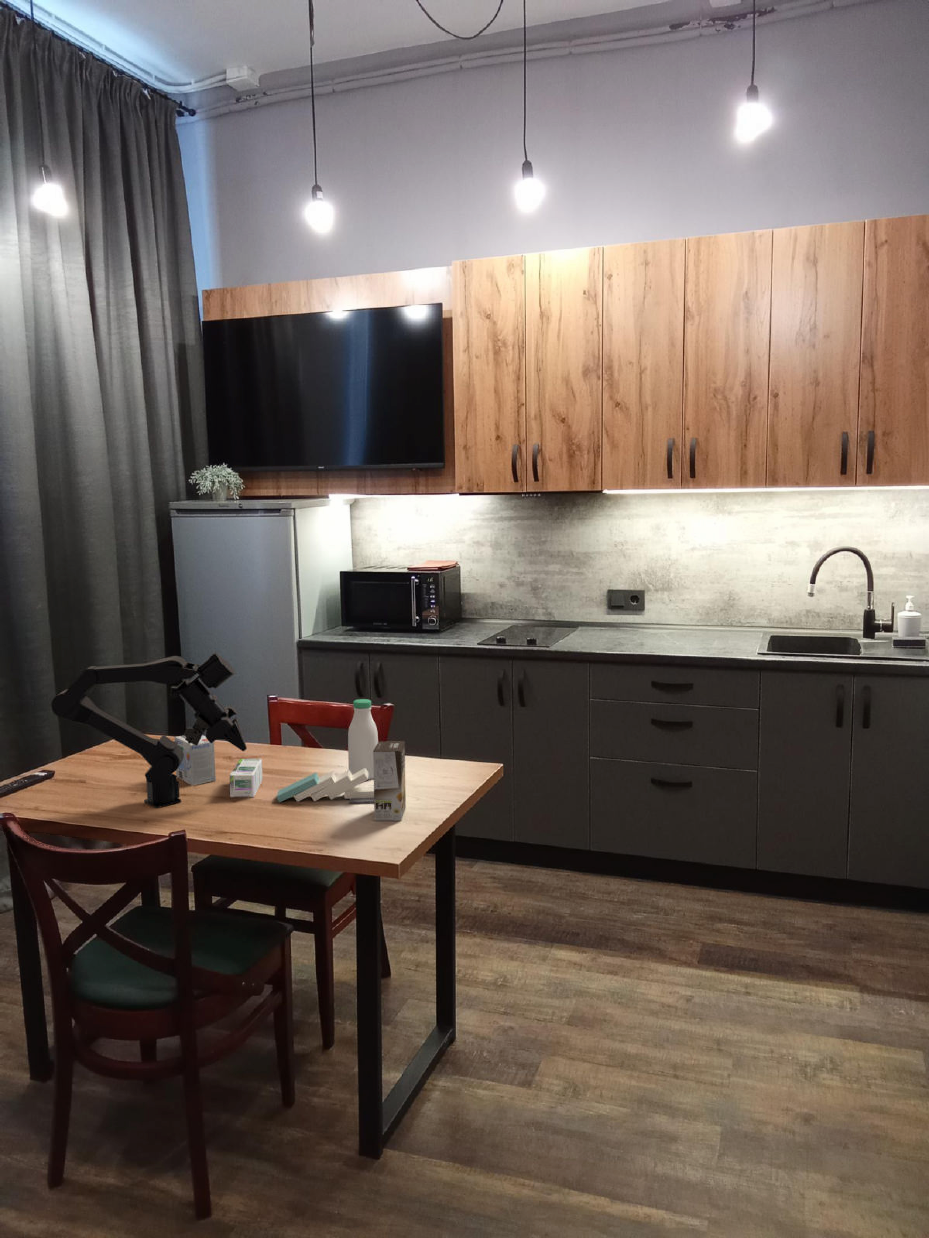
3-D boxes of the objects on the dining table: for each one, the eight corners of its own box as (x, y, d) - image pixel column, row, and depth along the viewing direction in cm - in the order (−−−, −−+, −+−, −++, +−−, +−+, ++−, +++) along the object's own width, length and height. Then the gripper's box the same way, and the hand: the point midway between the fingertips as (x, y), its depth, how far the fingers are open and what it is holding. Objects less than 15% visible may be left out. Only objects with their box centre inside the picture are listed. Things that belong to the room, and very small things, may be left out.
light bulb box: (175, 776, 247) (173, 736, 246) (200, 771, 251) (198, 732, 250) (191, 786, 239) (189, 744, 237) (217, 781, 243) (215, 740, 241)
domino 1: (276, 796, 225) (314, 778, 225) (279, 790, 230) (316, 772, 230) (279, 802, 225) (317, 784, 225) (282, 795, 230) (319, 778, 230)
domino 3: (310, 795, 225) (347, 775, 225) (313, 789, 230) (348, 769, 230) (314, 801, 226) (351, 781, 226) (316, 794, 231) (352, 775, 230)
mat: (349, 803, 224) (349, 801, 224) (351, 790, 234) (351, 788, 234) (392, 802, 224) (392, 800, 224) (392, 789, 234) (392, 787, 234)
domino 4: (327, 794, 226) (364, 773, 226) (329, 787, 231) (365, 767, 231) (331, 799, 226) (367, 779, 226) (332, 793, 231) (368, 773, 231)
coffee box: (402, 821, 212) (401, 751, 210) (373, 821, 212) (372, 751, 210) (406, 807, 221) (405, 740, 219) (378, 807, 221) (377, 740, 219)
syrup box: (262, 758, 243) (253, 773, 228) (262, 780, 243) (253, 797, 229) (239, 758, 242) (228, 774, 228) (240, 781, 243) (229, 798, 229)
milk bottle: (384, 777, 245) (382, 701, 242) (357, 782, 241) (355, 705, 238) (369, 770, 251) (368, 696, 249) (343, 775, 247) (341, 699, 244)
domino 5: (344, 792, 226) (386, 790, 227) (345, 785, 231) (387, 784, 231) (344, 798, 226) (386, 797, 227) (346, 792, 231) (387, 791, 232)
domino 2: (294, 796, 225) (331, 776, 225) (296, 789, 230) (333, 770, 230) (297, 801, 226) (334, 782, 225) (299, 795, 230) (336, 776, 230)
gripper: (179, 715, 233) (222, 762, 235) (169, 731, 214) (215, 781, 217) (215, 686, 233) (257, 733, 236) (207, 699, 215) (253, 750, 218)
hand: (245, 749), depth 227 cm, fingers closed
